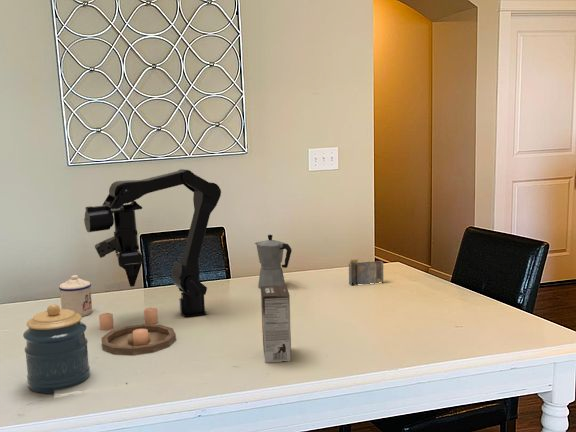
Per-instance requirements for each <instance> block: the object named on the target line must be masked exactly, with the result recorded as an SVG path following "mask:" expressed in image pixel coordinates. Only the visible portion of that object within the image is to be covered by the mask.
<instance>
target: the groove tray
mask: <svg viewBox="0 0 576 432" xmlns="http://www.w3.org/2000/svg"><path fill="white" fill-rule="evenodd" d="M136 329H147V330H148V343H149V345H141V346H134V343H133V331H134V330H136ZM176 341H177V335H176V332H175V330H174V328H172V327H170V326H167V325H163V324H151V325H150V324H145V323H144V324H136V325H127V326H124V327H120V328H117V329H112V330H111V331H110V330H109V331H108V332H107V333H105V334H104V335H103V336H102V337H101V346H102V347H101V348H102V351H104V352H105V353H110V354H112V355H117V356H118V355H119V356H120V355H121V356H137V355H144V354H150V353H151V354H153V353H155V352H158V351H161V350H164V349H167V348H169V347H171V346H172V344H174V343H175V342H176Z"/></svg>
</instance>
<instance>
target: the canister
mask: <svg viewBox="0 0 576 432" xmlns="http://www.w3.org/2000/svg"><path fill="white" fill-rule="evenodd" d="M46 309H47V310H44V311H41V312H39V313H36V314H35V315H33V317H31V318H30V319H28V320H27V321H26V326H27V329H26V330H24V332H23V334H22V337H23V338H24V339H25V341H26V346H25V347H24V353H25V359H26V360H25V361H26V370H27V372H26V373H27V375H26V381H27V383H28V387H29V389H30V390H31V391H33V392H36V393H42V394H54V393H55V391H58V390H59V391H60V390H64V389H68V388H72V387H75V386H78V385H80V384H82V383H84V382H85V381H86V380H87V379H89V377H90V373H91V369H90V368H91V367H90V365H89V363H90V362H89V351H88V338H86V336H85V332H86V330H87V325H86V323H84V322H82V321H81V320H82V319H83V316H81V315H80V314H78V313H75V312H74V311H72V310H68V309H62V308H60V306H59V305H58V304H56V303H51V304H49V305H48V306H47V308H46Z"/></svg>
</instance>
